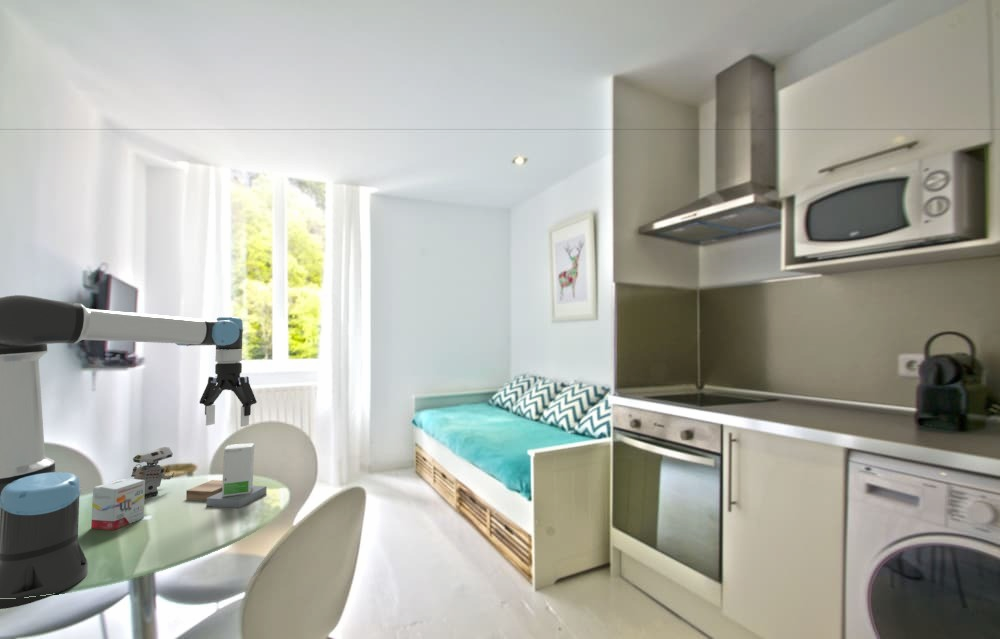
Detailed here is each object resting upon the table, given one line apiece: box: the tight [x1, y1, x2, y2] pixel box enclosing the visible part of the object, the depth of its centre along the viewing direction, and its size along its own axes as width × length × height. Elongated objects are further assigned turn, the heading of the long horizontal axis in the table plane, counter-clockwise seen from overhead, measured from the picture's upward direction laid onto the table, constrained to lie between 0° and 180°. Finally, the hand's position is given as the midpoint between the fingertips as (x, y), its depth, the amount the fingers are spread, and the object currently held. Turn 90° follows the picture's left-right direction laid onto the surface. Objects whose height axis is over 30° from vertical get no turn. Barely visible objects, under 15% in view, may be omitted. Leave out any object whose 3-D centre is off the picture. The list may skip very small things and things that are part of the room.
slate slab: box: [206, 485, 267, 509], centre depth 136 cm, size 12×12×2 cm
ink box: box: [91, 477, 146, 531], centre depth 120 cm, size 9×9×12 cm
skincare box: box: [222, 442, 255, 497], centre depth 137 cm, size 8×7×16 cm
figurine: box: [130, 446, 175, 499], centre depth 144 cm, size 9×12×15 cm
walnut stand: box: [185, 479, 223, 502], centre depth 141 cm, size 10×10×3 cm
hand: (227, 425), depth 137 cm, fingers open, 13 cm apart
